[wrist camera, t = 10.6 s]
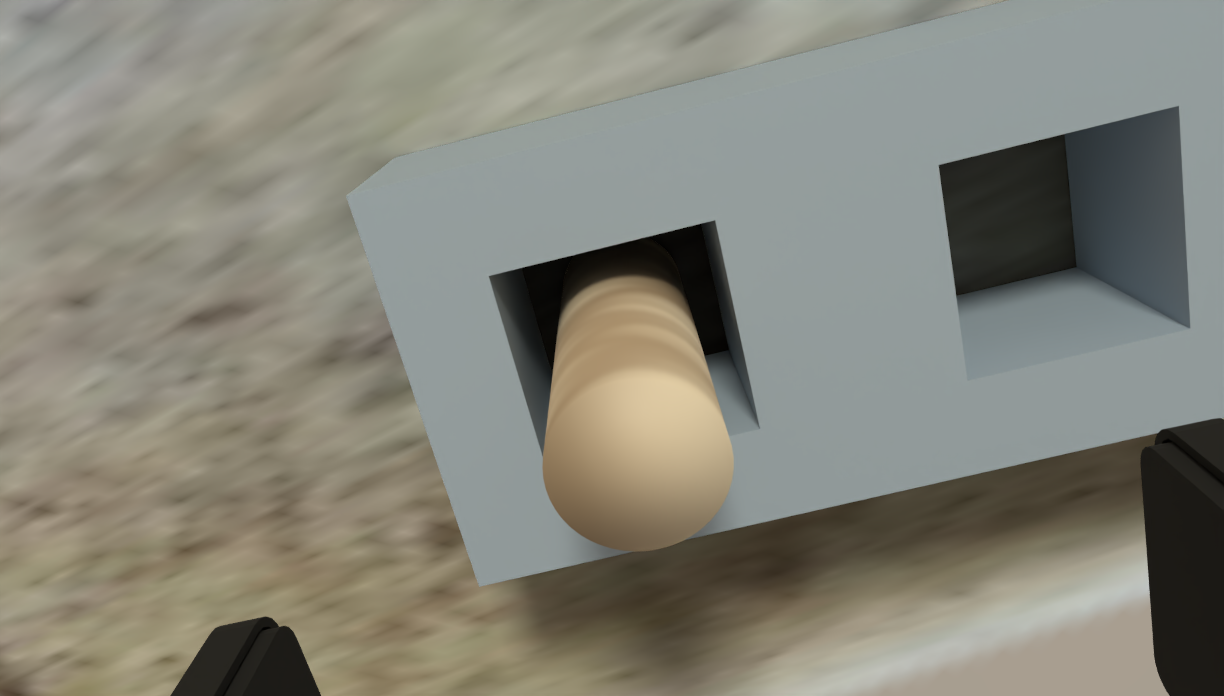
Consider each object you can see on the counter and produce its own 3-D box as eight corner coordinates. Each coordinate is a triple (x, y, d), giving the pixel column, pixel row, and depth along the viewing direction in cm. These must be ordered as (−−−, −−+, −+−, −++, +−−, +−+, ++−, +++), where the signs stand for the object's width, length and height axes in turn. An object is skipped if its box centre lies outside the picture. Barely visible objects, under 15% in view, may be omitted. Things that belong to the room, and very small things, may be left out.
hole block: (1147, -36, 22) (1295, -46, 18) (1168, 326, 25) (1300, 400, 21) (395, 157, 24) (345, 195, 19) (499, 482, 26) (479, 586, 22)
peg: (667, 218, 24) (712, 358, 15) (692, 330, 25) (750, 529, 16) (549, 247, 24) (519, 404, 15) (579, 357, 25) (570, 568, 16)
